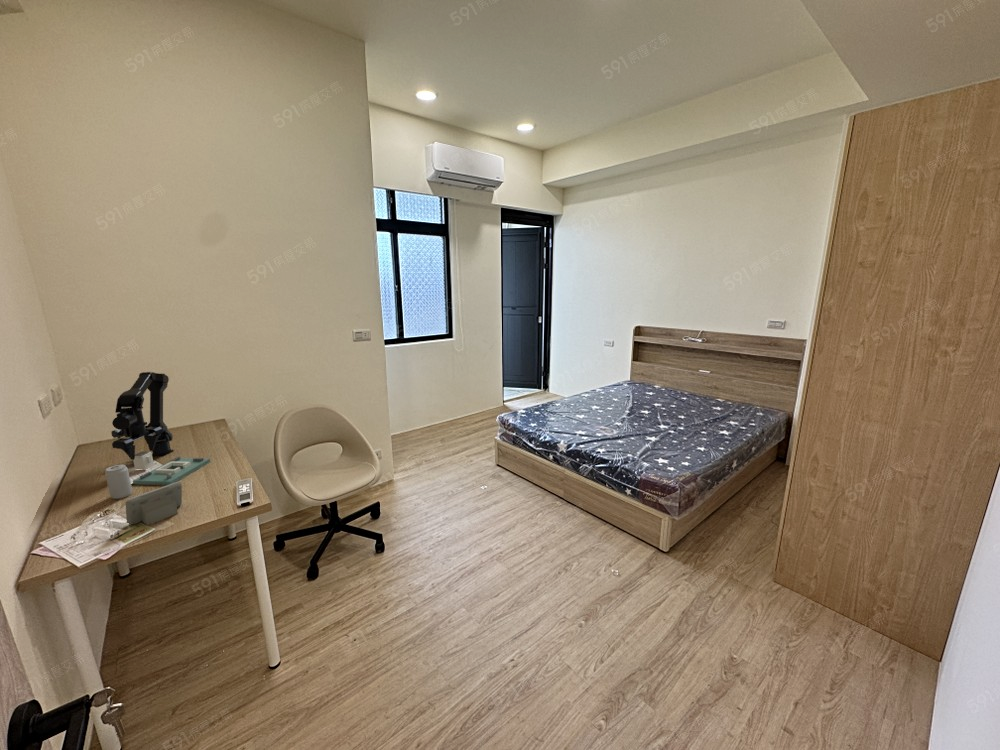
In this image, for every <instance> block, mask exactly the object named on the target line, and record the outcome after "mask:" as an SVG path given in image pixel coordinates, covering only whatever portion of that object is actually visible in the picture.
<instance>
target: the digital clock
mask: <svg viewBox="0 0 1000 750" xmlns="http://www.w3.org/2000/svg"><path fill="white" fill-rule="evenodd" d="M182 502H183V485H182V482H181V481H177V482H176V483H172V484H169V485H163V486H162V487H158V488H156V489H153V490H150V491H147V492H144V493H142V494H139V495H136V496H133V497H130V498H128V499H127V500H126V501H125V513H126V515H125V516H126V524H127V523H129V524H134V525H136V524H138V522H139V523H143V522H144V523H143V524H145V523H146V524H147V525H146V524H145V525H146V526H150V525H149V524H151V525H153V524H155V522H156V523H158V522H161V521H163V520H165V519H168V518H170V517H173V516H175V515H177V514H178V513H179V512H178V507H180V506H181V505H182V504H183V503H182ZM160 520H161V521H160ZM141 521H143V522H141ZM135 523H136V524H135ZM152 523H153V524H152Z"/></svg>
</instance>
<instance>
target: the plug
mask: <svg viewBox="0 0 1000 750" xmlns="http://www.w3.org/2000/svg"><path fill="white" fill-rule="evenodd" d="M152 454H153V452H152V451H139V452H138V453H135V458H134V460H132V461H133V465H134V470H135V469H142V470H146V469H148V468H150V467H152V466H154V467H155V463H154V459H153V456H152ZM152 468H153V467H152ZM150 469H151V468H150ZM148 470H149V469H148ZM146 471H147V470H146Z"/></svg>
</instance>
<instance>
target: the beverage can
mask: <svg viewBox="0 0 1000 750" xmlns="http://www.w3.org/2000/svg"><path fill="white" fill-rule="evenodd" d="M104 475H105V481H106V483H107V489H108V493H109V496H110V498H111V499H115V500H120V499H123V498H124V499H125V498H126V497H129V496H131V494H132V493H133V492H134V491H133V488H132V482H131V477H130V473H129V468H128V467H127V465H125V464H116V465H112V466H109V467H107V468H106V469H105V472H104Z"/></svg>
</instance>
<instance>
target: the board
mask: <svg viewBox="0 0 1000 750" xmlns="http://www.w3.org/2000/svg"><path fill="white" fill-rule="evenodd" d="M210 463H211V458H204V457H191V458H190V457H189V458H188V457H180V456H176V457H174V458H172V459H171V460H170V461H168V462H166V463H164V464H162V465H160V466H158V467H156V468H155V469H153V470H151V471H148V472H145V473H144V474H141V475H140V476H139V477H137V478H135V479H133V480H132V484H133V485H143V486H145V485H151V486H153V485H156V486H159V485H160V486H167V485H169V484H172V483H176V482H180V481H181V480H182V479H184V478H186V477H187V476H189V475H190V474H192V473H194V472H196V471H197V470H199V469H201V468H203V467H204V466H206V465H207V464H210Z"/></svg>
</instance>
